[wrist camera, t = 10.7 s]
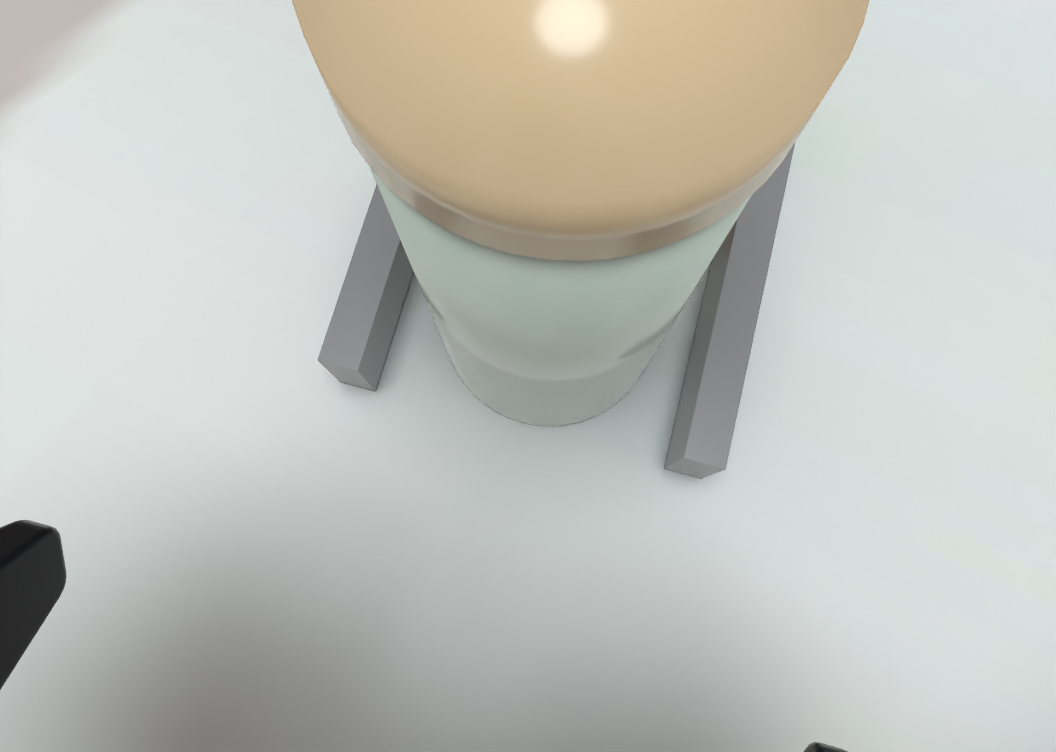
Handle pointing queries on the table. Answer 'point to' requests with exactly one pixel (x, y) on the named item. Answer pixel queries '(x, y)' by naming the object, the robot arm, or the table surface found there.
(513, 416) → the jar
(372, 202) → the grey bracket
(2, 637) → the robot arm
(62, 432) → the table surface
